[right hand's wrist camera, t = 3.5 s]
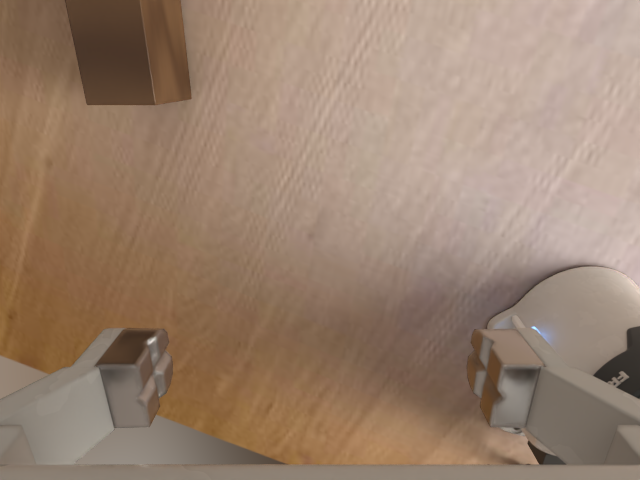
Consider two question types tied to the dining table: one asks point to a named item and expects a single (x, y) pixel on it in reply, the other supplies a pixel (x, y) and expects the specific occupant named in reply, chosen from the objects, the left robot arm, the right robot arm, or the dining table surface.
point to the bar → (130, 51)
